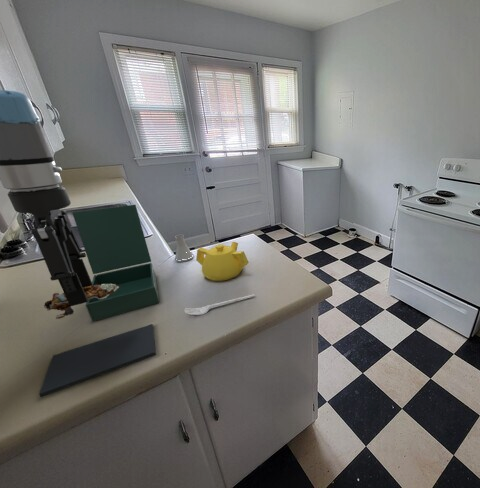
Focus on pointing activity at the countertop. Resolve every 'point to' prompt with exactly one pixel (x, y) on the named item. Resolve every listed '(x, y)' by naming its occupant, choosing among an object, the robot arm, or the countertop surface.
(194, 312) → the white spoon
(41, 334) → the countertop surface
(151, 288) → the box
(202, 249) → the teapot
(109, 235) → the box lid
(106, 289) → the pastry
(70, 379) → the trivet mat
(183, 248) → the flask
